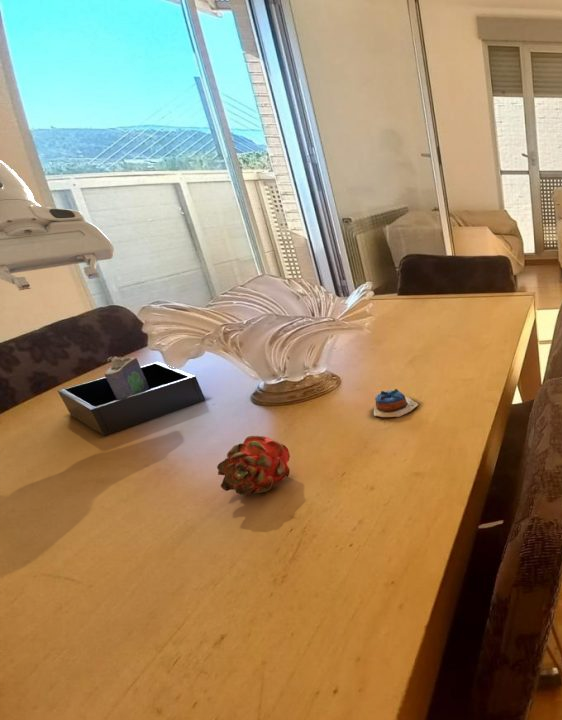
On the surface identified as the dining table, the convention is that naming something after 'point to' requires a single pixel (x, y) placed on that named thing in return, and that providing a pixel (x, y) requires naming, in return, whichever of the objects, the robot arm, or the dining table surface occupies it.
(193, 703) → the dining table surface
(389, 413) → the dessert
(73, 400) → the basin
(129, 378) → the flask
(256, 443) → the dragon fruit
